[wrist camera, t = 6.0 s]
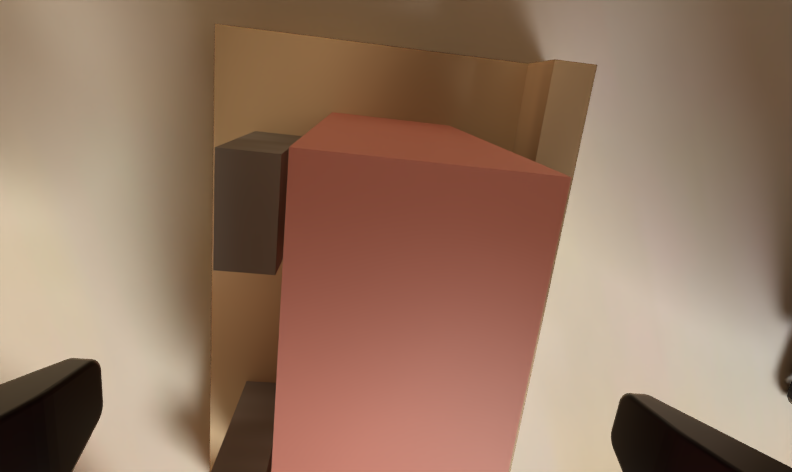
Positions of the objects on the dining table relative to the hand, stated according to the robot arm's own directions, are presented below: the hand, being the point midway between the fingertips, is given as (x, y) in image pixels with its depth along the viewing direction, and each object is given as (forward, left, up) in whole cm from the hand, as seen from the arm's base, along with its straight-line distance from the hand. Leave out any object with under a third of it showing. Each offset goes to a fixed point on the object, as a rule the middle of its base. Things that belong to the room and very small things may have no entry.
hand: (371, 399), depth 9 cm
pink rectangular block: (0, 0, -3) cm, 3 cm away
